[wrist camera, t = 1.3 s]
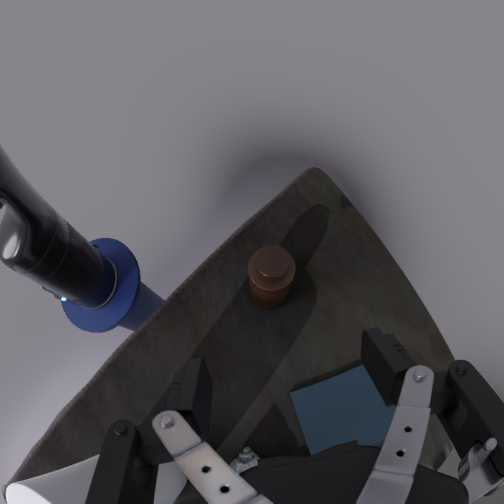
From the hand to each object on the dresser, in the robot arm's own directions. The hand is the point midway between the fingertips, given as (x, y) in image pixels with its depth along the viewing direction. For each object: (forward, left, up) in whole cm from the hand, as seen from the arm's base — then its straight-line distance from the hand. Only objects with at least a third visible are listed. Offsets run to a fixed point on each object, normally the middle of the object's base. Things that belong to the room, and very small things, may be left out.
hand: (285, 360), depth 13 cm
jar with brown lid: (+3, +10, -24) cm, 26 cm away
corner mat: (+9, -12, -24) cm, 29 cm away
